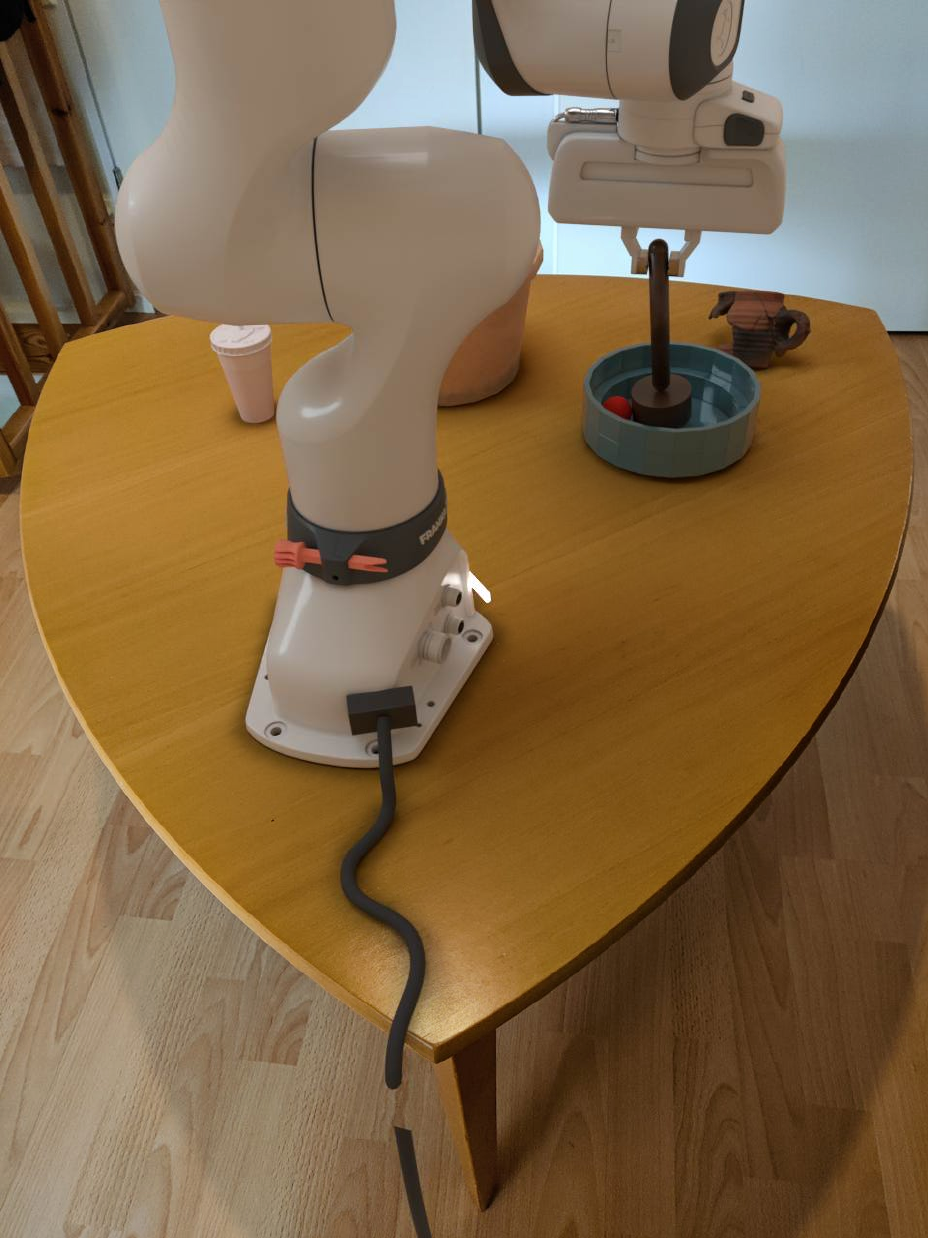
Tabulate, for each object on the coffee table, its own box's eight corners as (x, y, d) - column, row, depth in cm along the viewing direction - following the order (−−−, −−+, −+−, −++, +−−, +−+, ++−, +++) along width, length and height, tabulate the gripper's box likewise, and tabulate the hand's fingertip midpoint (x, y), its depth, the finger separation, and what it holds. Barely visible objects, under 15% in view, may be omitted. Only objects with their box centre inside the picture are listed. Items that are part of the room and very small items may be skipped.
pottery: (580, 376, 112) (585, 251, 102) (415, 443, 104) (404, 314, 94) (471, 307, 126) (466, 191, 116) (317, 362, 117) (298, 241, 107)
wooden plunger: (683, 435, 99) (683, 257, 86) (625, 429, 102) (616, 254, 88) (697, 400, 103) (699, 224, 89) (641, 395, 105) (634, 222, 92)
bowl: (746, 493, 95) (756, 440, 91) (568, 473, 99) (570, 421, 95) (755, 399, 107) (764, 348, 103) (596, 384, 111) (598, 335, 107)
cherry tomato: (627, 437, 102) (628, 415, 100) (596, 431, 103) (597, 409, 100) (634, 414, 104) (636, 392, 101) (604, 408, 105) (605, 386, 102)
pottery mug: (690, 365, 114) (696, 289, 112) (725, 368, 121) (732, 297, 119) (792, 367, 106) (801, 286, 105) (824, 370, 114) (833, 295, 112)
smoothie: (292, 398, 111) (270, 278, 102) (279, 430, 107) (254, 307, 97) (236, 398, 112) (209, 278, 102) (221, 429, 107) (191, 307, 98)
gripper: (540, 118, 81) (539, 280, 91) (800, 126, 77) (770, 296, 87) (554, 94, 86) (552, 252, 95) (800, 101, 82) (772, 265, 91)
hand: (658, 273), depth 91 cm, fingers closed on wooden plunger
